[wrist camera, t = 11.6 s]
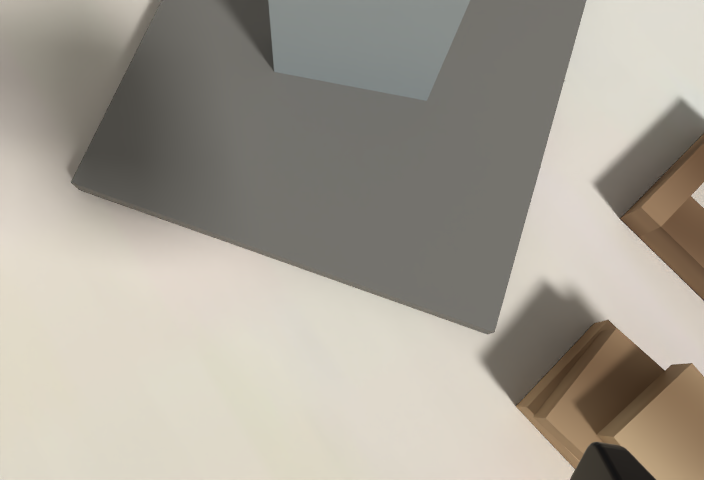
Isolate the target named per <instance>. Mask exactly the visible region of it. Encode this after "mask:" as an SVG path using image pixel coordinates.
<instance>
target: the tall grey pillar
mask: <svg viewBox="0 0 704 480" xmlns="http://www.w3.org/2000/svg"><path fill="white" fill-rule="evenodd" d="M268 2H269V15H270V27H271V39H272V51H273V63H274V72H278V73H283V74H288V75H294V76H299V77H304V78H309V79H315V80H320V81H325V82H330V83H336V84H341V85H346V86H351V87H357V88H362V89H367V90H372V91H378V92H383V93H388V94H393V95H399V96H404V97H409V98H415V99H420V100H425V101H427V99H428V97H429V95H430V92H431V90H432V88H433V85H434V83H435V81H436V78H437V76H438V74H439V71H440V69H441V67H442V64H443V62H444V60H445V58H446V55H447V53H448V51H449V48H450V46H451V44H452V41H453V39H454V37H455V34H456V32H457V30H458V27H459V25H460V23H461V20H462V18H463V16H464V14H465V11H466V9H467V7H468V4H469V2H470V0H268Z"/></svg>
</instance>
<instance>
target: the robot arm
mask: <svg viewBox="0 0 704 480" xmlns="http://www.w3.org/2000/svg"><path fill="white" fill-rule="evenodd" d="M570 480H656V479H655V478H654V477H653V476H652V475H651V474H650V472H649V471H648V470H647V469H646V468H645V467H644V466H643V465H642V464H641V463H640V462H639V461H638V460H637V459H636V458H635V457H634V456H633V455H632V454H631V453H630V452H629V451H628V450H627V449H626V448H624V447H622V446H620V445H614V444H608V443H602V442H593V443H591V444H590V445H589V446H588V447H587V449H586V450H585V452H584V454H583V456H582V458H581V460H580V462H579V463H578V465H577V467H576V469H575V471H574V473H573V475H572V477H571V479H570Z"/></svg>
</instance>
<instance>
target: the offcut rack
mask: <svg viewBox="0 0 704 480" xmlns="http://www.w3.org/2000/svg"><path fill="white" fill-rule="evenodd" d="M703 182H704V134H703V135H702V136H701V137H700V138H699V139H698V140H697V141H696V142H695V143H694V144H693V145H692V146H691V147H690V148H689V149H688V150H687V151H686V152H685V153H684V154H683V155H682V156H681V157H680V158H679V159H678V160H677V161H676V162H675V163H674V164H673V165H672V166H671V167H670V168H669V170H668V171H667V172H666V173H665V174H664V175H663V176H662V177H661V178H660V179H659V180H658V181H657V182H656V183H655V184H654V185H653V186H652V187H651V188H650V189H649V190H648V191H647V192H646V193H645V194H644V195H643V196H642V197H641V198H640V199H639V200H638V201H637V202H636V203H635V204H634V205H633V206H632V207H631V208H630V209H629V210H628V211H627V212H626V213H625V214H624V215H623V216H622V217H621V218H620V219H621V220H622V221H623V222H624V223H625V224H626V225H627V226H628V227H629V228H630V229H631V230H632V231H634V232H635V233H636V234H637V235H638V236H639V237H640V238H641V239H642V240H643V241H644V242H645V243H646V244H647V245H648V246H649V247H650V248H651V249H652V250H653V251H654V252H655V253H656V254H657V255H658V256H659V257H660V258H661V259H662V260H663V261H664V262H665V263H666V264H667V265H668V266H669V267H670V268H671V269H672V270H673V271H675V272H676V273H677V274H678V275H679V276H680V277H681V278H682V279H683V280H684V281H685V282H686V283H687V284H688V285H689V286H690V287H691V288H692V289H693V290H694V291H695V292H696V293H697V294H698V295H699V296H700V297H701V298H702V299H703V300H704V208H703V207H702V206H701V205H700V204H698V203H697V202H696V201H695V200H694V199H693V198H692V197H691V195H692V194H693V193H694V192H695V191H696V190H697V189H698V187H699V186H700V185H701V184H702V183H703ZM516 407H517V408H518V409H519V410H520V411H521V412H522V413H523V414H524V415H525V416H526V418H527V419H528V420H529V421H530V422H531V423H532V424H533V425H534V426H535V427H536V428H537V429H538V430H539V431H540V432H541V433H542V434H543V436H544V437H545V438H546V439H547V440H548V441H549V442H550V443H551V444H552V445H553V446H554V447H555V448H556V449H557V450H558V451H559V452H560V453H561V455H562V456H563V457H564V458H565V459H566V460H567V461H568V462H569V463H570V464H571V465H572V466H573V467H574V468H575V469H576V467H577V465H578V463H579V462H580V460H581V458H582V456H583V454H584V452H585V450H586V449H587V447H588V446H589V445H590V444H591V443H593V442H602V443H608V444H614V445H620V446H622V447H624V448H626V449H627V450H628V451H629V452H630V453H631V454H632V455H633V456H634V457H635V458H636V459H637V460H638V461H639V462H640V463H641V464H642V465H643V466H644V467H645V468H646V469H647V470H648V471H649V472H650V474H651V475H652V476H653V477H654V478H655V479H656V480H704V377H703V375H702V374H701V373H700V372H699V371H698V370H697V368H696V367H695V366H694V365H693V364H692V363H689V364H676V365H671V366H670V367H669V368H668V369H667V370H664V369H662V368H661V367H660V366H659V365H658V364H657V363H656V362H655V361H653V360H652V359H651V358H650V357H649V356H648V355H647V354H646V353H644V352H643V351H642V350H641V349H640V348H639V347H638V346H637V345H635V344H634V343H633V342H632V341H631V340H630V339H629V338H628V337H626V336H625V335H624V334H623V333H622V332H621V331H620V330H619V329H617V328H616V327H615V326H614V325H613V324H612V323H611V322H610V321H609V320H606V321H602V322H597V323H594V324H593V325H592V326H591V327H590V328H589V329H588V330H587V331H586V333H585V334H584V335H583V336H582V337H581V338H580V339H579V340H578V341H577V342H576V343H575V344H574V345H573V346H572V347H571V348H570V350H569V351H568V352H567V353H566V354H565V355H564V356H563V357H562V358H561V359H560V360H559V361H558V362H557V363H556V364H555V365H554V367H553V368H552V369H551V370H550V371H549V372H548V373H547V374H546V375H545V376H544V377H543V378H542V379H541V380H540V381H539V382H538V384H537V385H536V386H535V387H534V388H533V389H532V390H531V391H530V392H529V393H528V394H527V395H526V396H525V397H524V398H523V400H522V401H521V402H520V403H519V404H518V405H517V406H516Z"/></svg>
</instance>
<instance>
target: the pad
mask: <svg viewBox="0 0 704 480" xmlns="http://www.w3.org/2000/svg"><path fill="white" fill-rule="evenodd" d="M585 3H586V0H470V2H469V4H468V7H467V9H466V11H465V14H464V16H463V18H462V20H461V23H460V25H459V27H458V30H457V32H456V34H455V37H454V39H453V41H452V44H451V46H450V48H449V51H448V53H447V55H446V58H445V60H444V62H443V64H442V67H441V69H440V71H439V74H438V76H437V78H436V81H435V83H434V85H433V88H432V90H431V92H430V95H429V97H428V99H427V101H425V100H420V99H415V98H409V97H404V96H399V95H393V94H388V93H383V92H378V91H372V90H367V89H362V88H357V87H351V86H346V85H341V84H336V83H330V82H325V81H320V80H315V79H309V78H304V77H299V76H294V75H288V74H283V73H278V72H274V63H273V51H272V39H271V27H270V15H269V2H268V0H162V1H161V3H160V5H159V7H158V9H157V11H156V13H155V15H154V17H153V19H152V21H151V23H150V25H149V27H148V29H147V31H146V33H145V35H144V37H143V39H142V41H141V43H140V45H139V47H138V49H137V51H136V53H135V55H134V57H133V59H132V61H131V63H130V65H129V67H128V69H127V71H126V73H125V75H124V77H123V79H122V81H121V83H120V85H119V87H118V89H117V91H116V93H115V95H114V97H113V99H112V101H111V103H110V105H109V107H108V109H107V111H106V113H105V115H104V117H103V119H102V121H101V123H100V125H99V127H98V129H97V131H96V133H95V135H94V137H93V139H92V141H91V143H90V145H89V147H88V149H87V151H86V153H85V155H84V157H83V159H82V161H81V163H80V165H79V167H78V169H77V171H76V173H75V175H74V177H73V179H72V181H71V183H72V184H73V185H74V186H75V187H77V188H78V189H79V190H81V191H84V192H87V193H90V194H93V195H95V196H98V197H101V198H104V199H107V200H110V201H112V202H115V203H118V204H121V205H124V206H127V207H129V208H132V209H135V210H138V211H141V212H144V213H146V214H149V215H152V216H155V217H158V218H160V219H163V220H166V221H169V222H172V223H175V224H177V225H180V226H183V227H186V228H189V229H192V230H194V231H197V232H200V233H203V234H206V235H209V236H211V237H214V238H217V239H220V240H223V241H225V242H228V243H231V244H234V245H237V246H240V247H242V248H245V249H248V250H251V251H254V252H257V253H259V254H262V255H265V256H268V257H271V258H273V259H276V260H279V261H282V262H285V263H288V264H290V265H293V266H296V267H299V268H302V269H305V270H307V271H310V272H313V273H316V274H319V275H322V276H324V277H327V278H330V279H333V280H336V281H338V282H341V283H344V284H347V285H350V286H353V287H355V288H358V289H361V290H364V291H367V292H370V293H372V294H375V295H378V296H381V297H384V298H386V299H389V300H392V301H395V302H398V303H401V304H403V305H406V306H409V307H412V308H415V309H418V310H420V311H423V312H426V313H429V314H432V315H435V316H437V317H440V318H443V319H446V320H449V321H451V322H454V323H457V324H460V325H463V326H466V327H468V328H471V329H474V330H477V331H480V332H483V333H485V334H490V333H493V332H495V328H496V325H497V321H498V317H499V314H500V310H501V307H502V303H503V299H504V296H505V292H506V288H507V285H508V281H509V278H510V274H511V270H512V267H513V263H514V260H515V256H516V252H517V249H518V245H519V241H520V238H521V234H522V231H523V227H524V223H525V220H526V216H527V213H528V209H529V205H530V202H531V198H532V194H533V191H534V187H535V184H536V180H537V176H538V173H539V169H540V166H541V162H542V158H543V155H544V151H545V148H546V144H547V140H548V137H549V133H550V129H551V126H552V122H553V119H554V115H555V111H556V108H557V104H558V101H559V97H560V93H561V90H562V86H563V82H564V79H565V75H566V72H567V68H568V64H569V61H570V57H571V54H572V50H573V46H574V43H575V39H576V35H577V32H578V28H579V25H580V21H581V17H582V14H583V10H584V7H585Z"/></svg>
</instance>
